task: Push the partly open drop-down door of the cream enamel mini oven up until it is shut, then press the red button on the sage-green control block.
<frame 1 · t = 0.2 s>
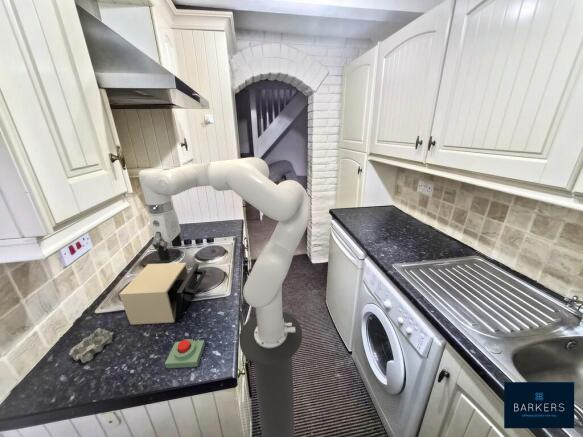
hand: (171, 252, 81), 30 cm above the worktop, tool pointing down, fingers open, 9 cm apart
oven: (164, 305, 100), on the worktop
oven door: (192, 291, 98), point 7 cm above the worktop, hinge at 14.7°
control block: (186, 355, 77), on the worktop
egg carton: (94, 348, 81), on the worktop
start button: (184, 346, 75), point 4 cm above the worktop, slide at 0.1 cm
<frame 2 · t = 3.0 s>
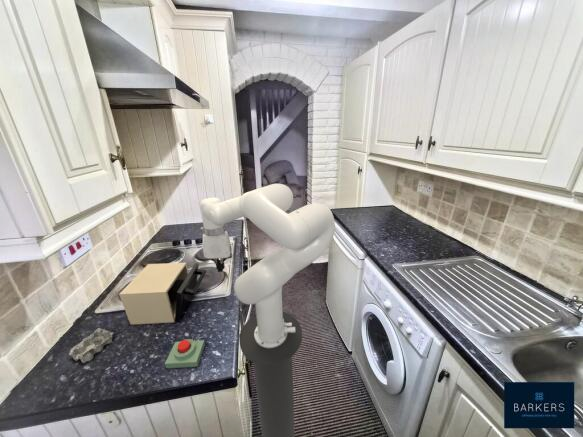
hand: (221, 270, 95), 17 cm above the worktop, tool pointing down, fingers closed
nothing on the worktop moved.
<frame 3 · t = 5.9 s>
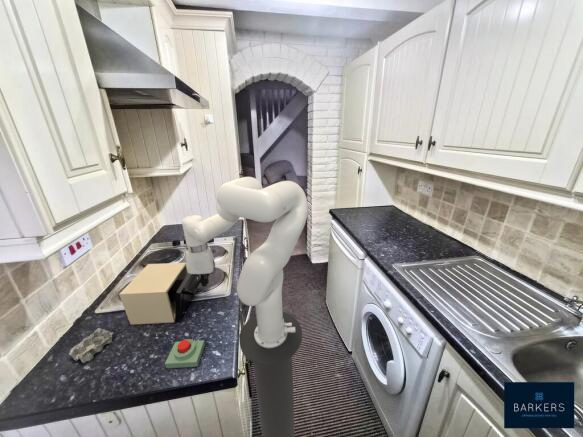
hand: (205, 284, 97), 10 cm above the worktop, tool pointing down, fingers closed
oven door: (192, 291, 98), point 7 cm above the worktop, hinge at 13.5°, touching gripper
everything else where it was.
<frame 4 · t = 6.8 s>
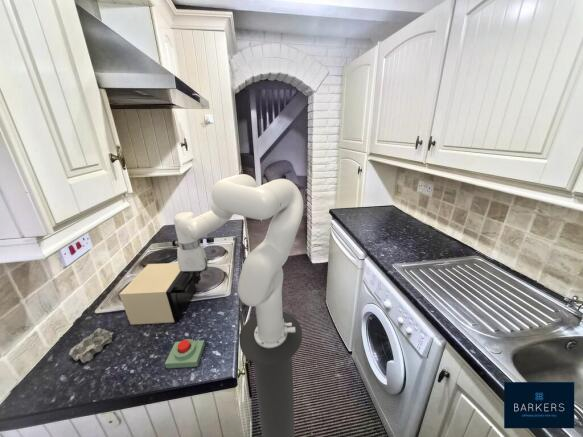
hand: (197, 281, 96), 11 cm above the worktop, tool pointing down, fingers closed
oven door: (187, 290, 97), point 8 cm above the worktop, hinge at -1.0°, touching gripper, oven
everything else where it was.
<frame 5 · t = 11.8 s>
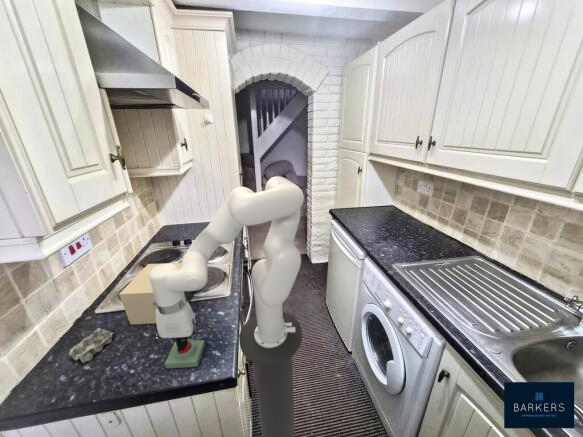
hand: (183, 346, 75), 4 cm above the worktop, tool pointing down, fingers closed
oven door: (187, 290, 97), point 8 cm above the worktop, hinge at -1.0°
start button: (184, 348, 76), point 3 cm above the worktop, slide at -0.9 cm, touching gripper
everything else where it was.
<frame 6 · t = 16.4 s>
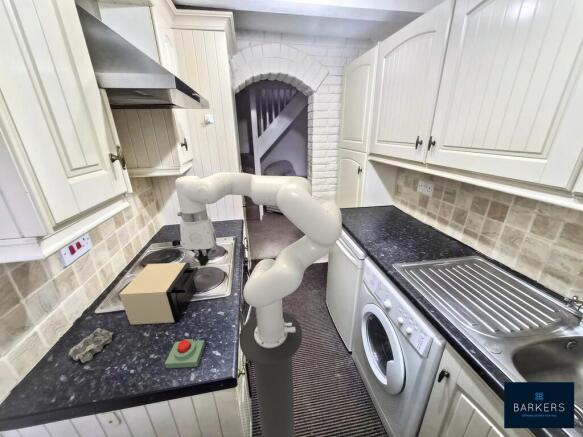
hand: (204, 263, 80), 27 cm above the worktop, tool pointing down, fingers closed
start button: (184, 346, 75), point 4 cm above the worktop, slide at 0.1 cm
everything else where it was.
at the end: oven door at -1° (first picture: +15°); start button pushed in 1.1 cm at the most during the clip, back to where it started at the end; start button slide at 0.1 cm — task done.
